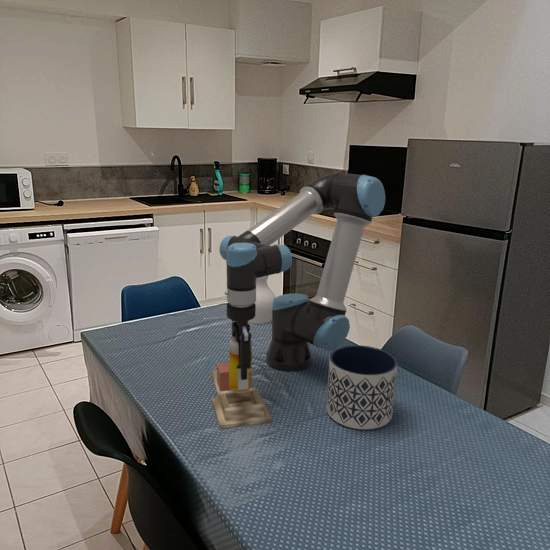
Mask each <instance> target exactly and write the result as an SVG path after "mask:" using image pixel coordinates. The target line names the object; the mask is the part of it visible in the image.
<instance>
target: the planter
mask: <svg viewBox="0 0 550 550" xmlns="http://www.w3.org/2000/svg"><path fill="white" fill-rule="evenodd" d="M397 370H398V361H397V359H396V357H395V356H394V355H392V354H391V353H389V352H388V351H386V350H384V349H380V348H378V347H375V346H370V345H361V344H360V345H358V344H356V345H355V344H354V345H345V346H341V347H337V348H335V349H333V350H332V352H331V353H330V354H329V360H328V373H327V374H328V375H327V376H328V377H327V390H326V391H327V393H326V396H327V397H326V411H327V414H328V415H329V417H330V418H331V419H332V420H334V421H335V422H336V423H338V424H340V425H342V426H345V427H347V428H350V429H355V430H375V429H379V428H383V427H384V426H386V425H388V424H389V422H391V420H392V418H393V413H394V404H395V403H394V402H395V401H394V400H395V391H396V382H397V381H396V380H397V372H398V371H397Z"/></svg>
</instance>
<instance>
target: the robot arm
mask: <svg viewBox="0 0 550 550" xmlns="http://www.w3.org/2000/svg"><path fill="white" fill-rule="evenodd" d="M384 188H385V187H384V185H383V183H382V182H381V180H380V179H378V178H377V177H374V176H370V175H367V174H354V173H346V172H339V171H338V172H331V173H328V174H324V175H322V176H319V177H318V178H316V179H314V180H312V181H311V182H309V183H308V184H306V185H304V186H303V187H302V188H300V190H299V193H298V194H297V195H296V196H294V197H292V198H291V199H290V200H288V201H287V202H286V203H284V204H283V205H281V206H280V207H278V208H277V209H276V210H274V211H273V212H271V213H269V214H268V215H267V216H265V217H264V218H263V219H261V220H260V221H259V222H257V223H256V224H254V225H253V226H251V227H250V228H248V229H247V230H246V231H244V232H242V233H241V234H240V235H239V234H238V236H236V235H227V236H225V237H224V238H222V240H221V242H220V244H219V249H218V250H219V254H220V256H221V258H222V259H223V260H225V263H226V290H225V291H224V295H225V296H226V301H227V303H226V317H227V318H228V319H229V320H231V337H232V336H234V337H236V342H238V346H239V366H236V368H237V369H238V390H243V389H248V377H249V369H250V368H251V341H252V333H251V332H250V331H251V324H249V323H248V321H249V320H252V319H253V318H254V317H255V312H256V304H255V302H256V278H259V277H263V276H268V275H269V276H272V275H275V274H276V275H277V274H280V273H282V272H286V271H288V270H289V269H290V268H291V266H292V264H293V263H292V262H293V255H292V252H291V250H290V248H289V247H288V246H287V245H285V244H274V243H275V242H277V241H279V239H281V238H282V237H283V236H285V235H286V234H288V233H289V232H291V231H292V230H293V229H294V228H296V227H297V226H299V225H300V224H301V223H303V222H304V221H306V220H307V219H308V218H310V217H312V215H320V213H322V212H323V211H326V210H334V211H333V215H334V217H335V219H336V222H335V223H336V224H335V226H334V231H333V234H332V238H331V241H330V245H329V249H328V251H327V256H326V258H325V263H324V267H323V271H322V275H321V277H320V282H319V285H318V289H317V293H316V295H315V296H313V297H312V298H310V299H309V296H308V295H307V294H304V293H285V294H281V295H278V296H275V299H274V301H273V309H272V321H271V341H270V343H269V346H268V348H267V352H266V356H265V357H266V358H265V362H266V363H267V365H268V366H269V367H271V368H273V369H275V370H278V371H284V372H295V371H296V372H298V371H302V370H304V369H307V368H309V367H310V365H311V364H312V353H311V349H310V347H309V344H311V345H313V346H315V347H316V348H317V349H323V350H326V351H334V350H336V349H338V348H339V347H340V346H341V345H342V344H344V341H345V340H346V338H347V337H348V335H349V332H350V326H351V325H350V320H349V318H348V317H347V316H346V313H347V307H346V305H345V304H344V301H345V298H346V295H347V291H348V288H349V283H350V280H351V278H352V277H351V276H352V273H353V270H354V265H355V262H356V259H357V255H358V251H359V247H360V244H361V240H362V237H363V234H364V230H365V228H366V227H367V226H370V225H371V224H372V220H373V218H375V217H377V216H379V215H380V214H381V213H382V212H383V210H384V207H385V205H386V204H385V203H386V193H385V191H386V190H385V189H384ZM272 244H273V245H272ZM269 276H268V277H269ZM239 338H241V339H239Z"/></svg>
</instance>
